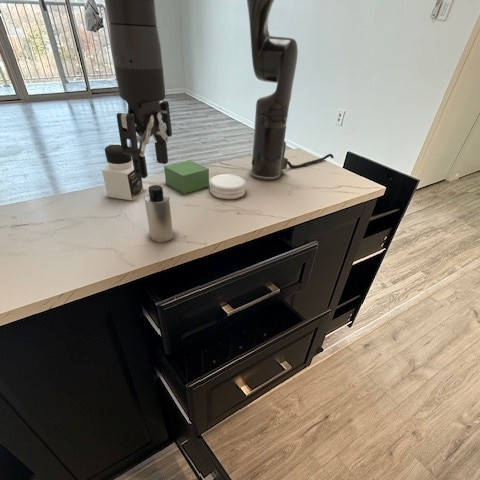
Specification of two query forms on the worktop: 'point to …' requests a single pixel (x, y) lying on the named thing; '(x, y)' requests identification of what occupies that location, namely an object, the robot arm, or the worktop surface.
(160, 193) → the flask
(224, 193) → the white short cylinder
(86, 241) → the worktop surface
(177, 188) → the block
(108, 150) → the medicine bottle
